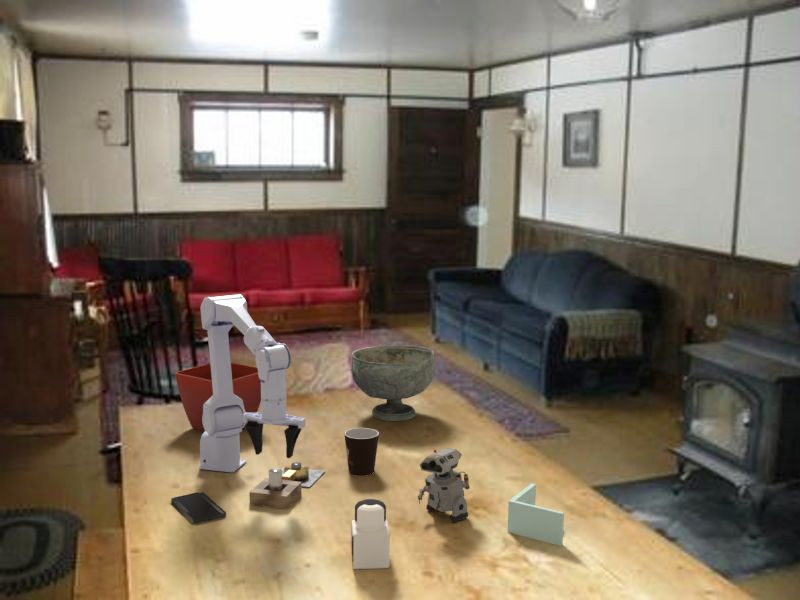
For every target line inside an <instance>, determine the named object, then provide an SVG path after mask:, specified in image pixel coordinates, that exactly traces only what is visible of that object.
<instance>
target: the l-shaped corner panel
mask: <svg viewBox="0 0 800 600" xmlns="http://www.w3.org/2000/svg"><path fill="white" fill-rule="evenodd" d="M536 495H537V484H536V483H532V482H531V483H530V484H529V485H527V486H526V487H525V488H524V489H522V490H521V491H519V492H518V493H516V494H515V495H514V496H513V497H511V499H510V500H508V507H507V508H508V509H507V511H508V512H507V533H511V534H514V535H518V536H522V537H525V538H529V539H532V540H537V541H540V542H541V541H542V542H544V543H548V544H552V545H555V546H560V547H561V546H563V544H564V542H563V541H564V523H565V521H564V520H565V518H564V517H565V512H563V511H559V510H556V509H551V508H548V507H543V506H539V505H536V497H537V496H536Z"/></svg>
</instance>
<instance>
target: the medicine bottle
mask: <svg viewBox="0 0 800 600" xmlns="http://www.w3.org/2000/svg"><path fill="white" fill-rule="evenodd" d="M388 522H389V521H388V519H387V506H386V504H385V503H384V502H383V501H382V500H379V499H374V498H368V499H362V500H360V501H358V502H357V503H356V504H355V505H354V519H352V520H351V538H350V539H351V540H350V541H351V543H350V544H351V547H350V548H351V551H350V552H351V564H352V565H351V566H352V569H353V570H373V569H374V570H377V569H389V568H390V564H391V563H390V562H391V561H390V556H391V555H390V553H391V550H390V548H391V546H390V545H391V542H390V539H391V537H390V536H391V534H390V528H389V523H388Z"/></svg>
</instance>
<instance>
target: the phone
mask: <svg viewBox="0 0 800 600" xmlns="http://www.w3.org/2000/svg"><path fill="white" fill-rule="evenodd" d="M170 501H171V502H172V503H171V502H170V503H171V504H172V505H173V506H174V507H175V508H176V509H177V510H178V512H180V514H182V516H184V517H185V518H186V519H187V520H188V521H189V522H190V523H191V524H193V525H199V524H204V523H209V522H214V521H218V520H221V519H225V518H226V517H227V512H226V511H225V510H224V509H223V508H222V507H220V505H218V504H217V503H216V502H215V501H214V500H213V499H211V497H209V496H208V495H207V494H206V493H205V492H203V491H199V492H193V493H189V494H185V495H184V494H183V495H180V496H175V497H172V498H171V499H170Z"/></svg>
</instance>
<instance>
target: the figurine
mask: <svg viewBox="0 0 800 600" xmlns="http://www.w3.org/2000/svg"><path fill="white" fill-rule="evenodd" d="M462 455H463V454H462V453H461V452H460V451H459V450H458V449H456V448H455V449H454V448H449V447H446V448H444V449H442V450H439V451H437V450H436V449H434V450H433V454H430V455H428V456H426V457H425V458H424V459H423V460H422V461H421V462H420V463H419V468H420V471H422V472H423V471H424V472H427V473H430V474H429V475H427V478H426V477H425V479H424V480H425V481H424V482H425V485H424V486H423V488H421V489H419V490H418V492H419V493H418V495H417V499H418V501H419V502H418V504H421V501H423V496H424V495H425V492H426V493H427V494H428V497H427V504H426V510H427V511H429V512H433V511H436V510H437V511H439V512H440V513H441V512H442V513H444V512H451V515H450V521H451V522H452V523H453V522H454V523H455V524H456V523H458V522H460V521H461V520H462V521H464V520H466V519H467V518H468V517H469V511H468V506H467V505H468V503H467V500H466V499H465V493H464V492H465V490H469V489H470V482H469V481H470V480H469V474H468V473H466V472H465V471H456V470H454V469H456V468H457V467H458V465H459V463H460V460H461V457H462ZM462 473H463V477H462ZM464 489H465V490H464Z"/></svg>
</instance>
